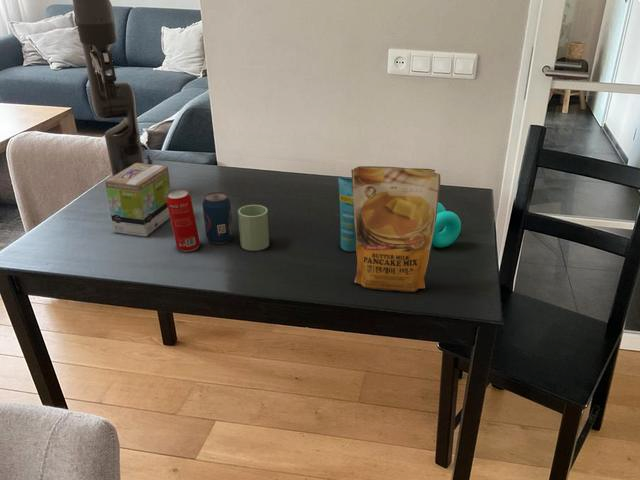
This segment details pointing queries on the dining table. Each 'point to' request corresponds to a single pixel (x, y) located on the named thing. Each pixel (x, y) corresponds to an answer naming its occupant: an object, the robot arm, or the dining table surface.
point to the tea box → (139, 198)
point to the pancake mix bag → (394, 225)
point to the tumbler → (253, 227)
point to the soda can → (217, 217)
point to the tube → (347, 214)
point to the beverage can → (183, 220)
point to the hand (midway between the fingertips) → (108, 95)
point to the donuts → (450, 228)
